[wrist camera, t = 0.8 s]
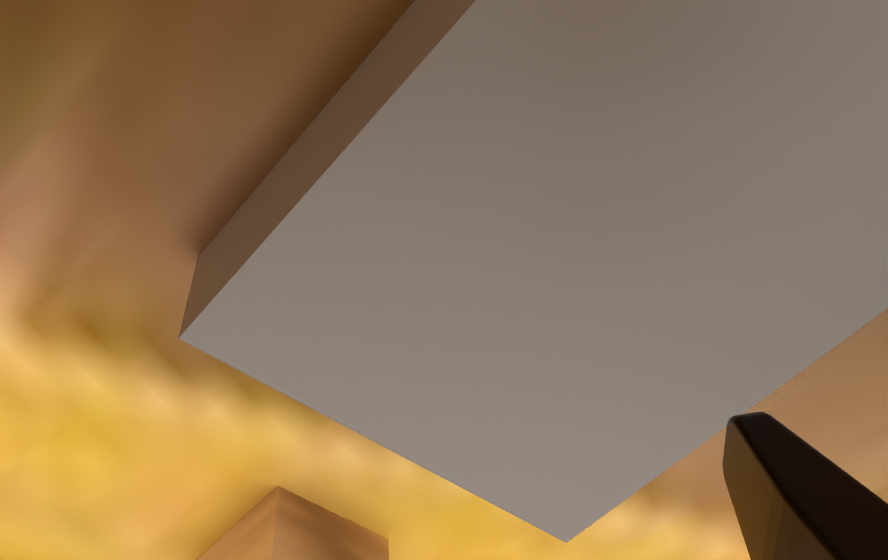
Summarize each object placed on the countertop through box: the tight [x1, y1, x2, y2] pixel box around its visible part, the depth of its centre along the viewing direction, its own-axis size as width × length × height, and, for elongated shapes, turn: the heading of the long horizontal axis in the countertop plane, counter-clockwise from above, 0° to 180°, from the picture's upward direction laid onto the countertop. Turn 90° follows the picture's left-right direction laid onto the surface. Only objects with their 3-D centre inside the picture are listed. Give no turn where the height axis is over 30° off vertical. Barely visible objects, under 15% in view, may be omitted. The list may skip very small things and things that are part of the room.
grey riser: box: [179, 0, 888, 543], centre depth 22 cm, size 14×18×4 cm
